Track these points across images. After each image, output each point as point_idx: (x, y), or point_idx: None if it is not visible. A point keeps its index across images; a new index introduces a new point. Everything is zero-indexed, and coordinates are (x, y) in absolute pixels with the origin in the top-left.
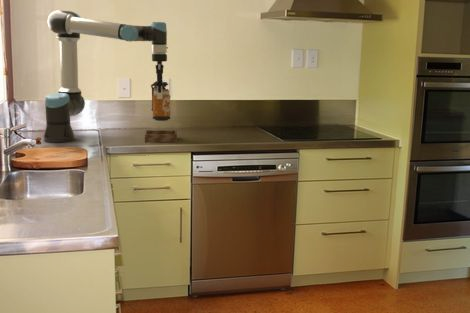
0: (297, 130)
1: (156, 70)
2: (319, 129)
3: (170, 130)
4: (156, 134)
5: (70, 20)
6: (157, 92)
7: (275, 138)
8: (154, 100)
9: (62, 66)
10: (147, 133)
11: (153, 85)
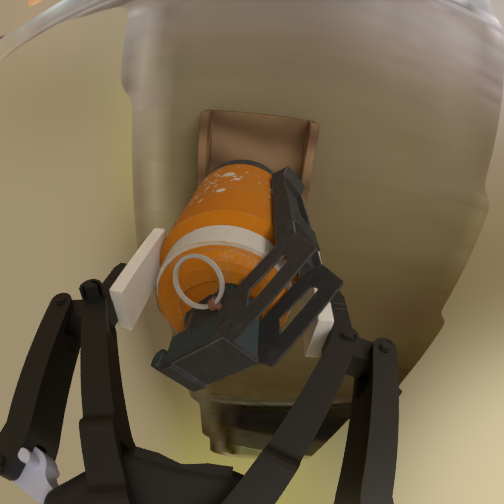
0: None
1: (85, 451)
2: (315, 441)
3: None
4: (302, 161)
5: None
6: (134, 258)
7: (245, 400)
8: (192, 205)
9: None
10: (308, 126)
11: (276, 275)
